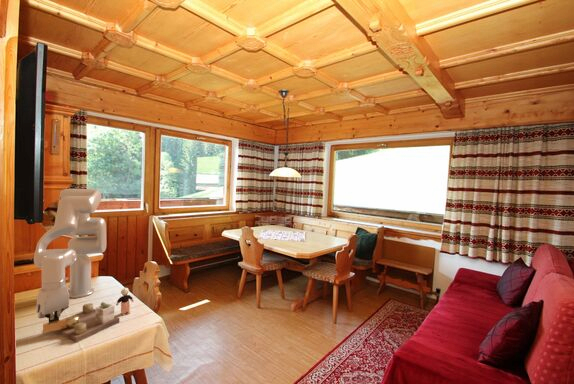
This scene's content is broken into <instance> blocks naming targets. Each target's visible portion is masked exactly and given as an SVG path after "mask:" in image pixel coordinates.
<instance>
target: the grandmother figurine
mask: <svg viewBox="0 0 574 384" xmlns="http://www.w3.org/2000/svg"><path fill="white" fill-rule="evenodd" d="M129 292H130V290H129V288H128V287H123V288H122V289H121V290H120V294H122V296H120V297H119V298H118V299H117V301H116V303H115V305H116V306H118V305H119V304H120V316H122V317H123V316H126V314H127V315H130V314H131V306H130V305H131V304H130V301H131V303H133V302H134V301H135V300H134V298H133V296H131V295H130V294H129Z"/></svg>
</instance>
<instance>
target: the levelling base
mask: <svg viewBox="0 0 574 384" xmlns="http://www.w3.org/2000/svg"><path fill="white" fill-rule="evenodd" d="M74 315H77V316H79V323H78V324H76V325H75V326H74V328H73V329H67V328H64V329H60V330H55V331H51V332H52V333H55V334H57V335H59V336H61V337H63V338H66V339H68V340H70V341H73V342H74V343H79V342H81V341H83V340H85V339H88V338H90V337H91V336H94V335H95V334H97V333H100V332H102V331H104V330H107V329H109V328H110V327H112V326H114V325H117V324H119V323H120V317H118V316H115V305H113V304H111V303H108V302H104V301H102V302H100V306H97V307H95V308H94V304H93V303H85V304H82V311H81V312H78V313H76V314H73V315H71V316H74ZM68 317H69V316H67V317H65V318H63V319H66V318H68ZM63 319H61V320H63Z"/></svg>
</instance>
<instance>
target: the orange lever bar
mask: <svg viewBox="0 0 574 384" xmlns="http://www.w3.org/2000/svg"><path fill="white" fill-rule="evenodd" d="M73 315H74V316H72V315H70V316H67V317H68V318H67V317H65V318H66V319H65V318H63V320H62V319H59V320H58V321H53V322H49V321H48V322H44V323H43V324H42V334H46V333H51V332H52V331H55V330H60V329H64V328H67V329H73V328H74V326H75V325H76V324H78V323H79V316H77V315H75V314H73Z"/></svg>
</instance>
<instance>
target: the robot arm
mask: <svg viewBox="0 0 574 384" xmlns="http://www.w3.org/2000/svg"><path fill="white" fill-rule="evenodd" d="M59 198H60V199H59V202H58V205H57V206H58V207H57V211H56V215H55V220H54V225H53V227H51V228H50V229H49V230H48V231H46V232H45V233H44V234H43V235H42V236H41V237H40V239H39V240H38V242H37V244H36V246H35V251H34V256H33V264H34V266H35V267H37V268H39V269H40V268H41V288H40V289H39V290H38V293H37V297H36V306H35V310H36V313H38V314H37V318H38V319H46V318H47V319H48V322H53V321H58V320H60V317H61V314H62V313H63V312H64V311H65V310H67V309H69V307H70V299H79V298H83V297H88V296H91V294H93V293H94V292H95V288H93V287H92V260H91V258H90V256H89V255H91V254H92V255H94V254H102V253H104V252H105V251H106V249H107V223H106V220H105V219H104V218H103V217H91V216H90V214H93V213H95V211H96V210H97V208H98V207H99V205H100V203H101V201H102V193H101V191H100V190H99V189H95V188H64V189H62V190H60V192H59ZM70 233H71V234H72V235H74V236H75V237H72V238H71V239H69V241H68V242H67V248H53V249H50V248H49V249H47V248H48V246H49V244H50V243H52V242H53V241H54V240H56V239H57V238H60V237H61V236H65V235H68V234H70ZM68 267H69V277H68V276H67V277H66V268H68ZM67 281H69V284H68V285H67V284H66V282H67Z"/></svg>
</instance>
